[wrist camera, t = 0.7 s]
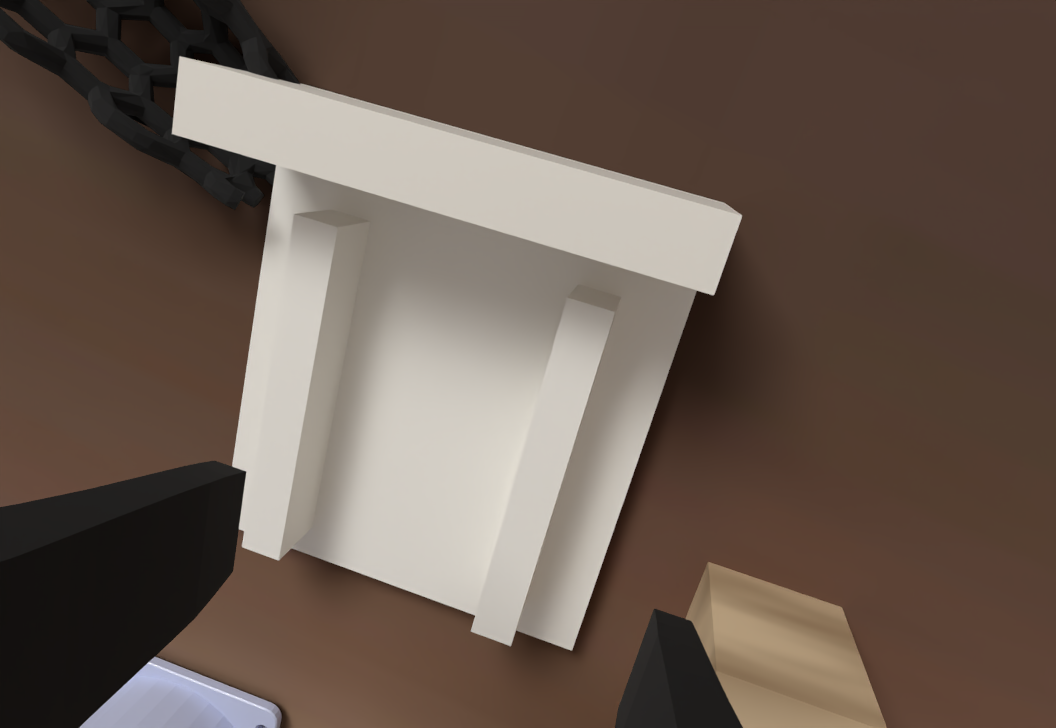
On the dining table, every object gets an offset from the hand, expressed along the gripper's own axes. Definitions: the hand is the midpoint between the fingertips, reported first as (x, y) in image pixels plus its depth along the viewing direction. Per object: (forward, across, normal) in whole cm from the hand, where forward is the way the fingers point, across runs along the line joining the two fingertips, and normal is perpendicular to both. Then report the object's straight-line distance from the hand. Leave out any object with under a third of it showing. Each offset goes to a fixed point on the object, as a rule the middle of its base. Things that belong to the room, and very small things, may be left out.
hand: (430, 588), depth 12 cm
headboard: (+10, +3, 0) cm, 10 cm away
